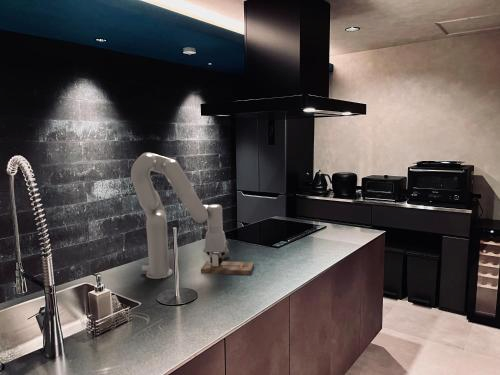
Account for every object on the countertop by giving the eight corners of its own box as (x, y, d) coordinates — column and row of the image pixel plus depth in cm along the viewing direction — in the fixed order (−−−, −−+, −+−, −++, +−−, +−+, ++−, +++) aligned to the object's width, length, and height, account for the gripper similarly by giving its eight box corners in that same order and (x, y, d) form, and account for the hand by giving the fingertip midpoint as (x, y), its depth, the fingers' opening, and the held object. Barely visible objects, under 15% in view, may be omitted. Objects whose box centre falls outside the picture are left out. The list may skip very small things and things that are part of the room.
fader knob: (212, 266, 192) (211, 254, 191) (214, 262, 197) (214, 251, 196) (218, 266, 192) (217, 254, 191) (220, 263, 197) (220, 251, 196)
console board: (201, 272, 190) (200, 268, 190) (206, 264, 202) (206, 260, 201) (250, 274, 187) (250, 270, 186) (253, 266, 198) (253, 262, 198)
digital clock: (209, 252, 222) (208, 235, 220) (224, 251, 224) (224, 233, 223) (214, 261, 206) (213, 242, 205) (230, 260, 209) (230, 241, 207)
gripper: (197, 230, 189) (198, 266, 192) (229, 231, 187) (230, 267, 190) (201, 227, 197) (202, 261, 199) (232, 227, 194) (233, 262, 197)
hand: (216, 263), depth 195 cm, fingers closed on fader knob, 3 cm apart
